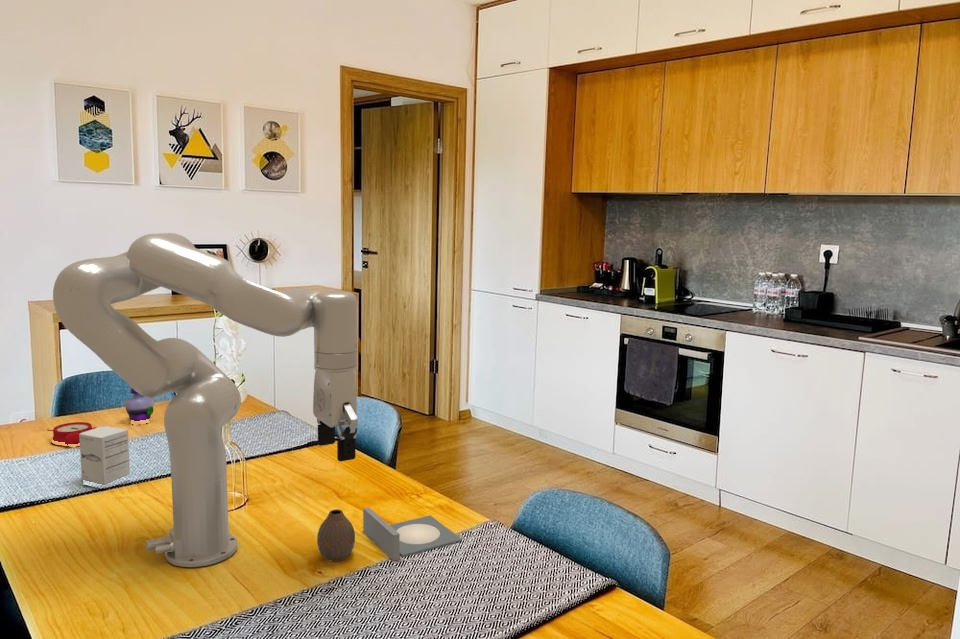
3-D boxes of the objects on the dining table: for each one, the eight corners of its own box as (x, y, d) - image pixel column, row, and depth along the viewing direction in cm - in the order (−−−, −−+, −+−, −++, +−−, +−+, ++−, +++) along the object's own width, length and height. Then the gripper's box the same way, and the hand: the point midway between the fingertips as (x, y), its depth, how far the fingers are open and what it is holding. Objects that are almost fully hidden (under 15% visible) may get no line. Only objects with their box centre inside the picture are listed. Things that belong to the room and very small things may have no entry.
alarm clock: (78, 420, 200) (108, 417, 192) (82, 441, 200) (112, 439, 193) (40, 428, 191) (69, 426, 184) (44, 451, 192) (73, 449, 184)
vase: (346, 567, 127) (346, 521, 126) (311, 562, 129) (310, 517, 127) (360, 550, 134) (360, 506, 133) (326, 545, 135) (326, 502, 134)
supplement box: (80, 486, 162) (77, 433, 160) (108, 475, 168) (105, 424, 167) (104, 491, 159) (101, 437, 157) (131, 480, 166) (128, 428, 164)
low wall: (393, 561, 130) (393, 535, 129) (363, 531, 142) (363, 508, 141) (399, 559, 131) (399, 533, 130) (368, 530, 142) (368, 507, 142)
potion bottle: (151, 426, 207) (149, 386, 205) (120, 427, 206) (118, 387, 204) (159, 418, 216) (157, 380, 214) (128, 419, 214) (127, 380, 212)
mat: (402, 557, 132) (402, 554, 132) (373, 530, 142) (373, 528, 142) (462, 541, 139) (462, 539, 139) (430, 517, 149) (430, 515, 149)
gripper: (299, 353, 131) (300, 441, 134) (333, 371, 117) (334, 470, 119) (337, 350, 135) (337, 436, 138) (375, 367, 121) (374, 462, 124)
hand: (336, 451), depth 129 cm, fingers open, 9 cm apart
